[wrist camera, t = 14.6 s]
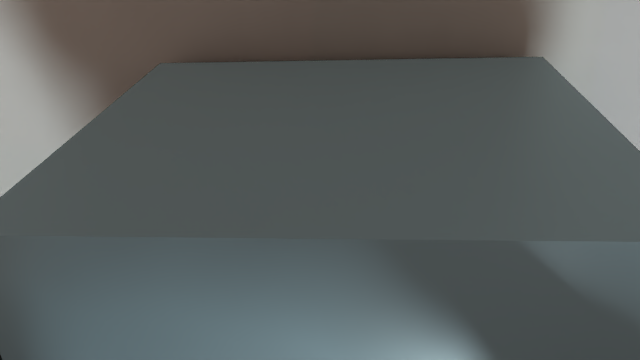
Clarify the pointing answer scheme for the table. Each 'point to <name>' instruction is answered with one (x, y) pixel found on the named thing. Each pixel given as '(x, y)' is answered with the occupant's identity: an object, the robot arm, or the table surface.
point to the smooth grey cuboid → (330, 219)
